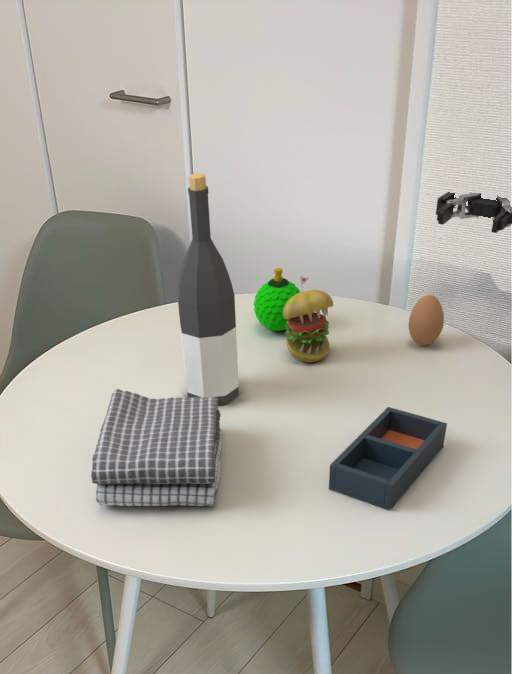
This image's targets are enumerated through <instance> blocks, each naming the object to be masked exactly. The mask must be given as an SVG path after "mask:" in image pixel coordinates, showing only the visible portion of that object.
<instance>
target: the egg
mask: <svg viewBox="0 0 512 674" xmlns="http://www.w3.org/2000/svg"><path fill="white" fill-rule="evenodd" d="M444 323H445V314H444V309H443V306H442V304H441V301H440V300H439V299H438V298H437V297H436V296H434V295H432V294H427V295H424V296H422V297H420V298H419V300H418V301H417V302H416V303H415V305H414V306H413V308H412V310H411V312H410V314H409V319H408V331H409V332H408V333H409V336H410V337H411V339H412V340H413V342H415V343H416V344H417V345H419V346H422V347H425V346H429V345H431V344H433V343H435V341H437V339H439V337H440V336H441V333H442V331H443V328H444Z"/></svg>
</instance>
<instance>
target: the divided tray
mask: <svg viewBox="0 0 512 674" xmlns="http://www.w3.org/2000/svg"><path fill="white" fill-rule="evenodd" d="M447 427H448V422H444V421H441V420H437V419H433V418H430V417H426V416H423V415H420V414H415V413H413V412H408V411H404V410H402V409H397V408H393V407H390V406H388V407H386V408H385V409H384V410H383V411H382V412H381V413H380V414H379V415H378V416H377V417H376V418H375V419H374V420H373V421H372V422H371V423H370V424H369V425H368V426H367V427H366V428H365V429H364V430H363V431H362V432H361V433H360V434H359V435H358V436H357V437H356V438H355V439H354V440H353V441H352V442H351V443H350V444H349V445H348V446H347V447H346V448H345V449H344V450H343V451H342V452H341V453H340V454H339V455H338V456H337V457H336V458H335V459H334V460H333V461H332V462H331V463H330V464H329V477H328V490H331V491H333V492H336V493H338V494H341V495H345V496H347V497H350V498H354V499H356V500H359V501H362V502H364V503H367V504H370V505H373V506H375V507H378V508H382V509H384V510H387V511H391V510H392V509H393V507H395V505H396V504H397V503H398V502H399V500H400V499H401V498H402V497H403V496H404V495H405V493H406V492H407V491H408V490H409V488H411V486H412V485H413V484H414V483H415V482H416V480H417V479H418V478H419V477H420V476H421V474H422V473H423V472H424V471H425V470H426V469H427V467H428V466H429V465H430V463H431V462H432V461H433V460H434V459H435V458H436V456H437V455H439V453H440V452H441V451H442V450H443V448H444V447H445V439H446V432H447Z"/></svg>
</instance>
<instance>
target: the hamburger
mask: <svg viewBox="0 0 512 674" xmlns="http://www.w3.org/2000/svg"><path fill="white" fill-rule="evenodd" d="M299 279H300V283H301V289H302V291H300V293H298V294H296V295H294V296H293V297H291V298H290V299H289V300H288V301H287V302H286V304H285V305H284V309H283V316H284V318H285V319H289V321H287V322H286V324H285V328H286V330H285V334H284V335H285V336H286V343H285V344H286V348H287V350H288V352H289V354H290V355H291V356H292V357H294V358H295V359H296V360H298V361H300V362H305V363H315V362H319V361H321V360H322V359H324V358H325V357H326V355H327V354H328V352H329V351H330V345H331V344H330V341H329V339H328V335H330V331H329V328H330V321H328V319H327V317H329V308H333V307H334V300H333V299H332V297H331V295H330V294H329V293H328V292H326V291H324V290H321V289H307V290H304V288H303V285H304V284H305V283H306V282H307V281H308V280H309V279H310V278H309V277H304V276H301V275H300V276H299ZM321 312H322V313H321Z"/></svg>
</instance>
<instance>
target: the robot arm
mask: <svg viewBox="0 0 512 674" xmlns="http://www.w3.org/2000/svg"><path fill="white" fill-rule="evenodd" d="M454 195H455V193H450V192H449V191H447V192H445V193H444V194H442V195H440V196H439V197H438V198H437V201H436V207H435V215H436V221H437V224H438V225H442V226H444V225H445V224H446V223H448V222H449V221H450V220H452V218H459V219H460V220H464V219H465V220H466V219H470V218H471V219H472V218H476V219H479V216H483V217H488V218H491V217H493V218H492V220H493V223H492V226H491V233H492V234H493V233H494V234H497V233H498V232H500V231H504V230H505V229H506V228H509V227H512V207H511V206H510V201H509V200H508V199H507V198H501V197H499V196H498V195H497V198H496V200H497V201H496V200H490V199H483V198H481V193H472V192H469V194H468V193H464V194H459V195H460V196H459V198H456V197H455V198H454ZM467 201H468V206H466V202H467ZM456 205H457V206H456ZM455 206H456V207H455ZM455 209H456V210H455ZM454 210H455V211H454Z"/></svg>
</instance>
